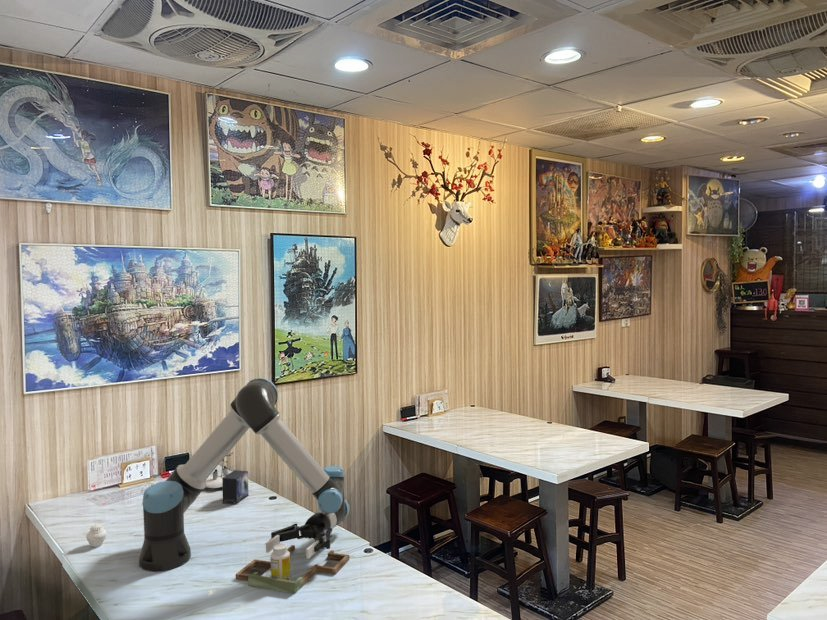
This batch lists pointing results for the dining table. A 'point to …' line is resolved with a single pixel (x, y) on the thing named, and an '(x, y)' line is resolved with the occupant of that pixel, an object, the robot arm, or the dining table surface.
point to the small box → (235, 487)
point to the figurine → (217, 477)
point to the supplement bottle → (280, 562)
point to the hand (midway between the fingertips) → (286, 551)
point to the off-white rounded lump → (96, 536)
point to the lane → (260, 567)
